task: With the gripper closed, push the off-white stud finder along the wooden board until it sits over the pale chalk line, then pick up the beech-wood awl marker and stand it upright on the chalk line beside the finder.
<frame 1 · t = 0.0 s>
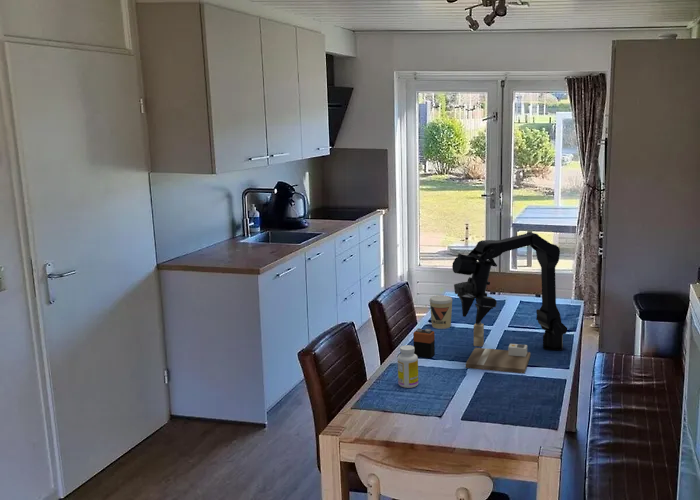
hand: (470, 320, 247), 15 cm above the table, tool pointing down, fingers open, 9 cm apart
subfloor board: (498, 361, 248), on the table
battery: (424, 355, 258), on the table
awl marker: (478, 344, 267), on the table
coffee cup: (441, 326, 291), on the table
stud finder: (517, 349, 250), point 3 cm above the table, slide at 0.0 cm
supplement bottle: (408, 385, 232), on the table
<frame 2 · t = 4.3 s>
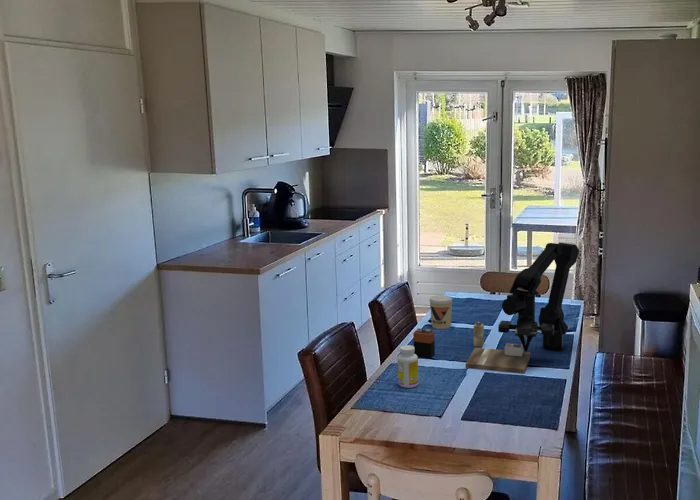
hand: (525, 351, 249), 3 cm above the table, tool pointing down, fingers closed
stud finder: (514, 349, 251), point 3 cm above the table, slide at 1.4 cm, touching gripper
everything else where it was.
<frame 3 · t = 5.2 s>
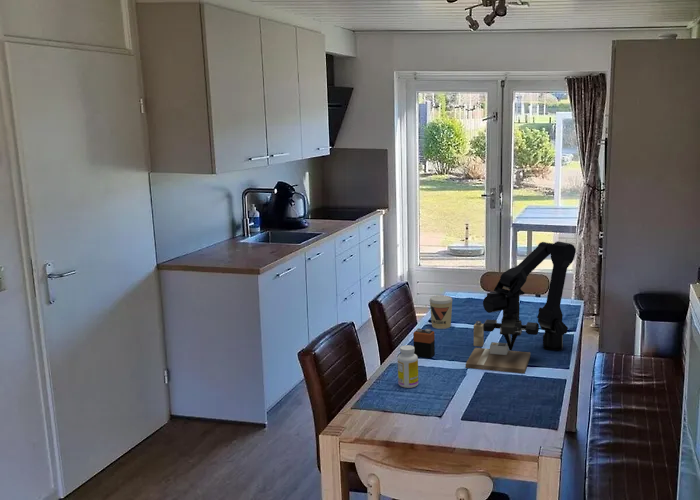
hand: (510, 349, 251), 3 cm above the table, tool pointing down, fingers closed
stud finder: (499, 348, 253), point 3 cm above the table, slide at 6.6 cm, touching gripper
everything else where it was.
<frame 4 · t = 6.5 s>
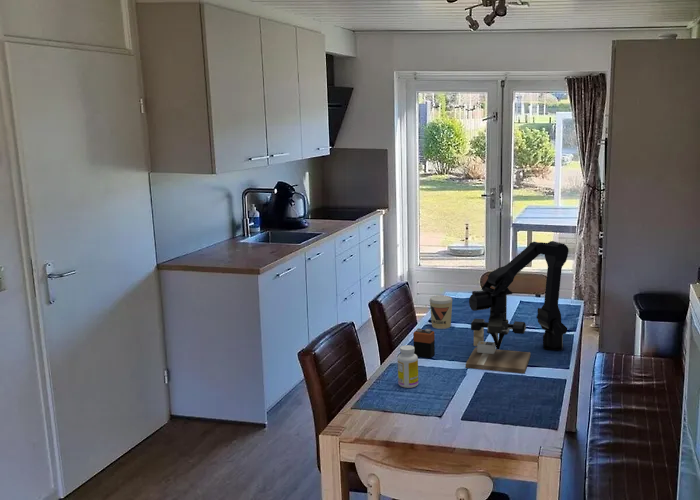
hand: (498, 348, 253), 3 cm above the table, tool pointing down, fingers closed
stud finder: (486, 347, 254), point 3 cm above the table, slide at 11.1 cm, touching gripper
everything else where it was.
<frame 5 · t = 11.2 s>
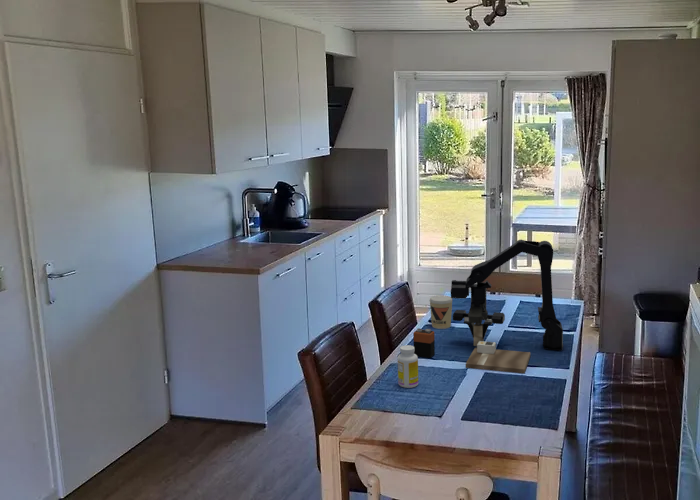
hand: (478, 338, 266), 3 cm above the table, tool pointing down, fingers closed on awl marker, 3 cm apart
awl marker: (478, 344, 267), on the table, touching gripper
stud finder: (486, 347, 254), point 3 cm above the table, slide at 11.1 cm
everything else where it was.
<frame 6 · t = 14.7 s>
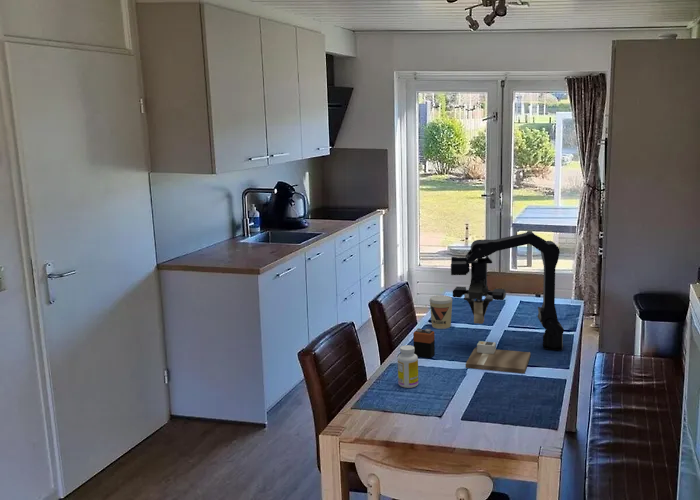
hand: (479, 315, 261), 12 cm above the table, tool pointing down, fingers closed on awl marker, 3 cm apart
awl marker: (479, 322, 262), point 10 cm above the table, touching gripper
everything else where it was.
when the fingers open (5 cm above the table, at t = 18.3 s): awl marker stays where it is, resting on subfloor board.
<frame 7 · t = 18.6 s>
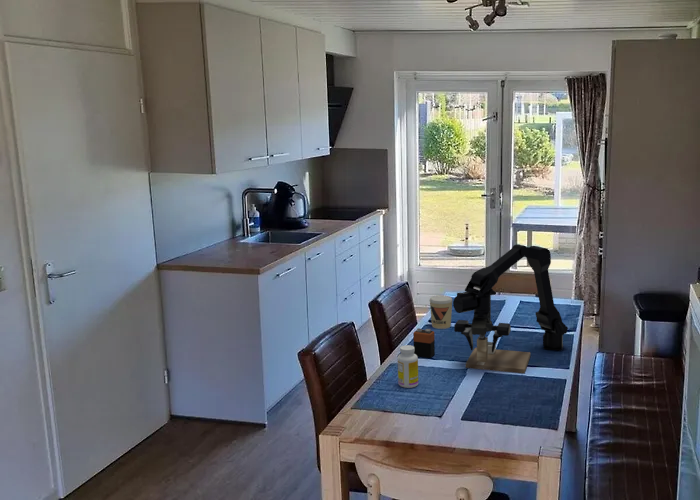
hand: (482, 351, 246), 5 cm above the table, tool pointing down, fingers open, 7 cm apart
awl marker: (482, 360, 246), point 2 cm above the table, touching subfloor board
everything else where it was.
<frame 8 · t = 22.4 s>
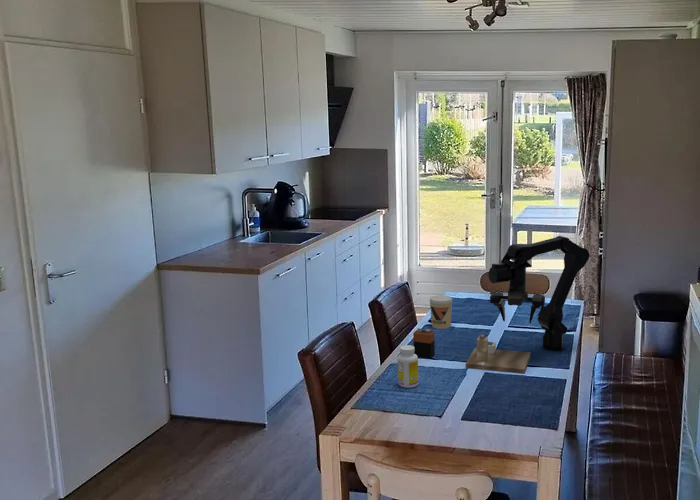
hand: (517, 322, 253), 12 cm above the table, tool pointing down, fingers open, 9 cm apart
nothing on the table moved.
at the end: stud finder slide at 11.1 cm; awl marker 0.0 cm from the target spot on the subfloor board, point 1.6 cm above the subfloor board's base; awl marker tilted 0° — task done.
